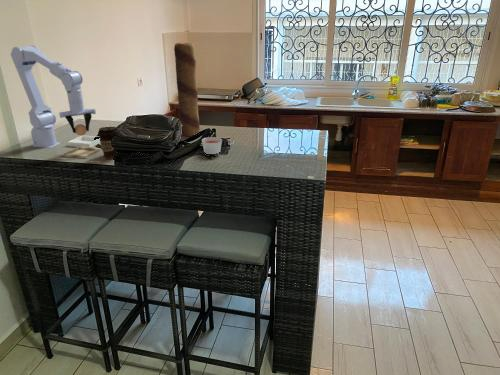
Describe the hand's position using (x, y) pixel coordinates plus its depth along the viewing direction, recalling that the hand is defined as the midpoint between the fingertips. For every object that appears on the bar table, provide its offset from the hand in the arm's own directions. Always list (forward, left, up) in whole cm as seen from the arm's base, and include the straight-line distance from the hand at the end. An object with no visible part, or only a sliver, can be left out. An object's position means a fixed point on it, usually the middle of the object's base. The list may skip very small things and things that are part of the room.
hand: (80, 131), depth 173 cm
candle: (+57, +13, -10) cm, 59 cm away
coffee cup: (+16, -3, -10) cm, 19 cm away
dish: (-5, +10, -9) cm, 14 cm away
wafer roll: (+36, +39, -10) cm, 54 cm away
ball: (0, 0, -2) cm, 2 cm away
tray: (+2, -3, -9) cm, 10 cm away
